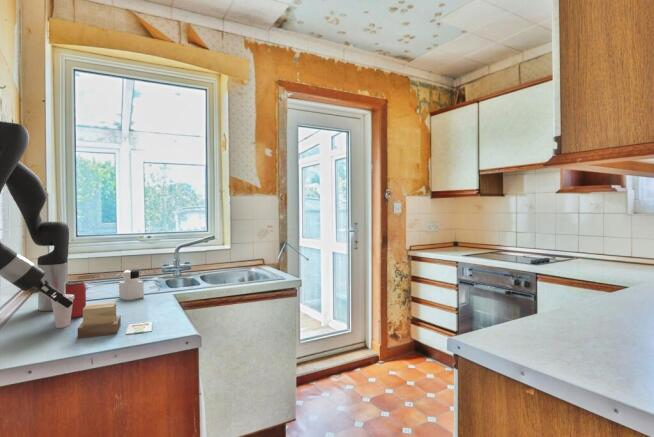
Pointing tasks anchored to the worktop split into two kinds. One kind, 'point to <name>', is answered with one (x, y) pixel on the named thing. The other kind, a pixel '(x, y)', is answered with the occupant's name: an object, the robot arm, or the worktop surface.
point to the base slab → (99, 329)
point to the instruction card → (139, 328)
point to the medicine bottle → (131, 286)
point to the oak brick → (99, 313)
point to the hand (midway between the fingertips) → (67, 303)
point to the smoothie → (62, 311)
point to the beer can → (77, 297)
